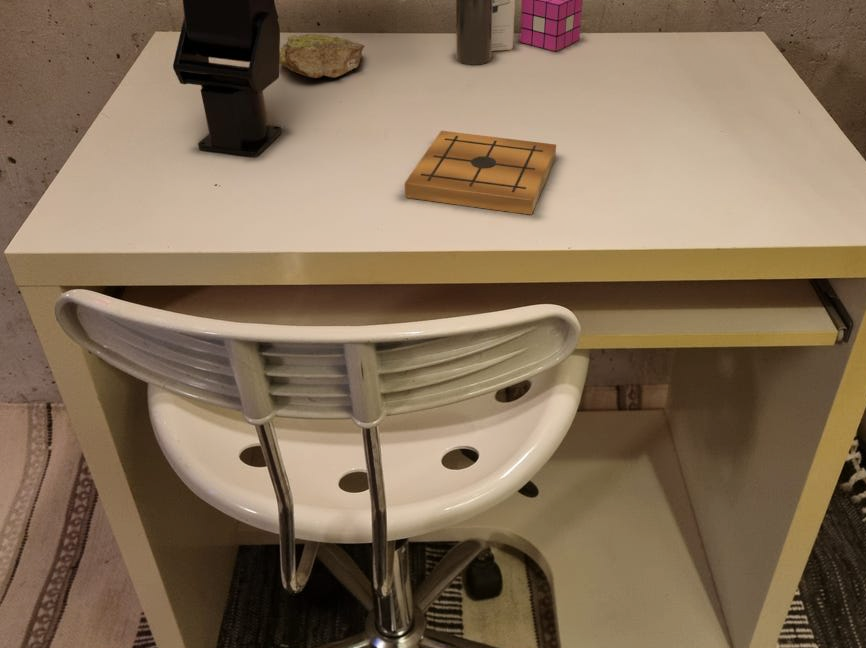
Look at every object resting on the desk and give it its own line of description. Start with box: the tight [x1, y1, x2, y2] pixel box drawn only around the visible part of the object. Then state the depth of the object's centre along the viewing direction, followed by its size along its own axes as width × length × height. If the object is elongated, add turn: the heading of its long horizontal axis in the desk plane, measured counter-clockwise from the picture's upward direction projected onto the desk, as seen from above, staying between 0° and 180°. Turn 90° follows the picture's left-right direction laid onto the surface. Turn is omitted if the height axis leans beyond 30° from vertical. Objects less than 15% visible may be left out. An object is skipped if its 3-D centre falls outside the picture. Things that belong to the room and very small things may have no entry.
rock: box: [280, 33, 365, 79], centre depth 102 cm, size 13×10×4 cm
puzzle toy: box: [519, 0, 584, 53], centre depth 109 cm, size 6×6×6 cm
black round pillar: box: [455, 0, 493, 66], centre depth 102 cm, size 4×4×12 cm
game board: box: [404, 130, 557, 215], centre depth 81 cm, size 12×12×2 cm
